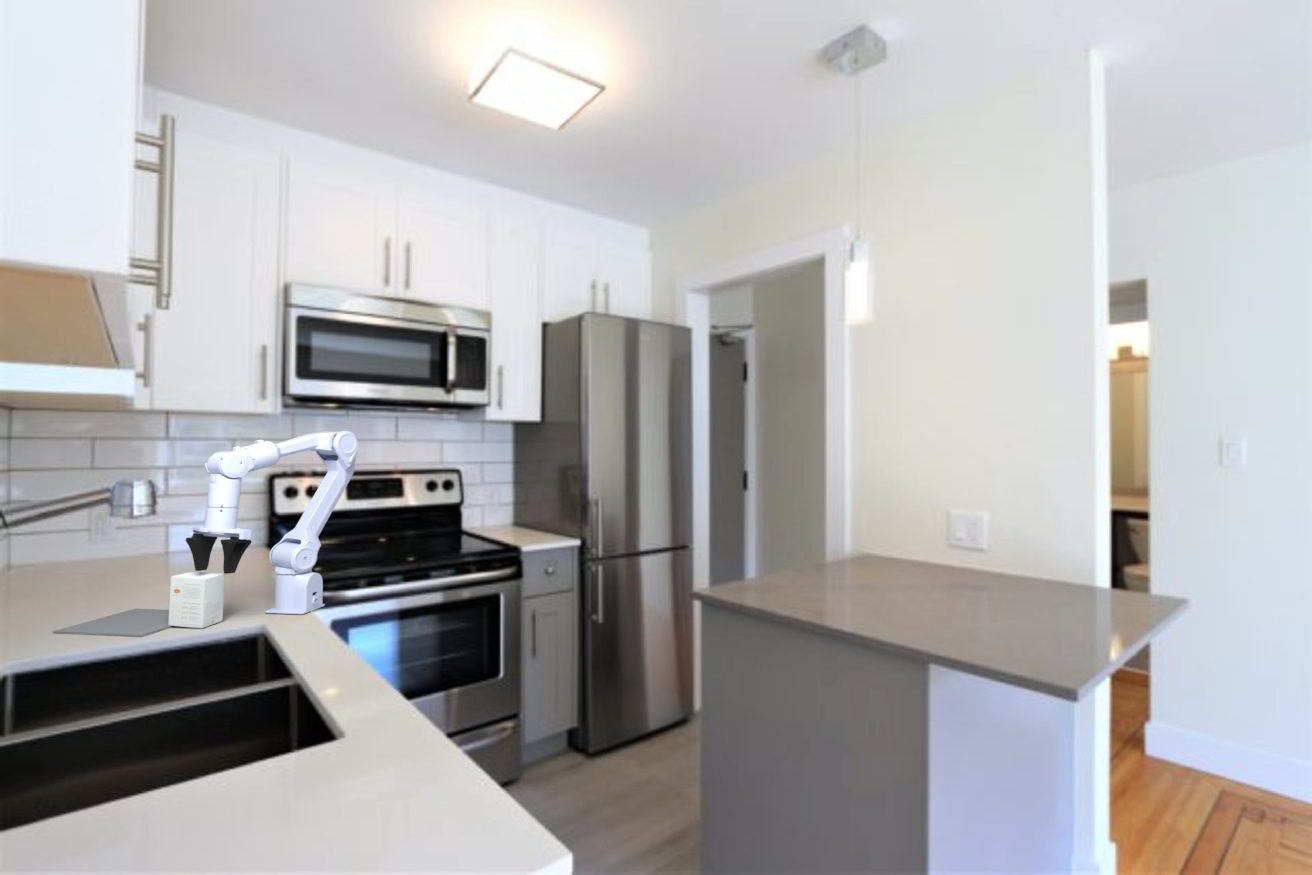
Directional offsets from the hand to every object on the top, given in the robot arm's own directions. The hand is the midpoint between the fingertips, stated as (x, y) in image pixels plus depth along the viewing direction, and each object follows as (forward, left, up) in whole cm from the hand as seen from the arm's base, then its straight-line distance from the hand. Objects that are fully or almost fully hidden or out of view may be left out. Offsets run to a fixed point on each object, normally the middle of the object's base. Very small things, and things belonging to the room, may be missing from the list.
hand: (215, 571), depth 132 cm
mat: (+19, -1, -12) cm, 22 cm away
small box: (+6, -1, -12) cm, 13 cm away
